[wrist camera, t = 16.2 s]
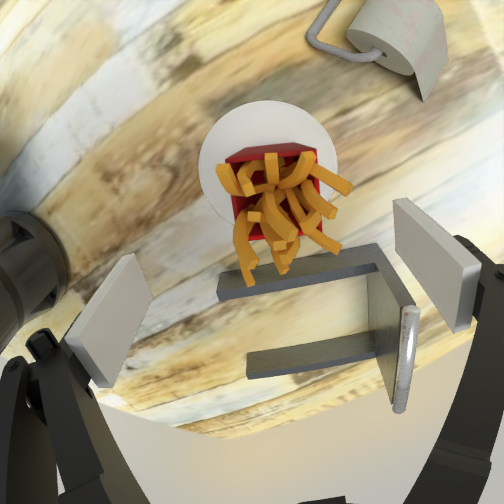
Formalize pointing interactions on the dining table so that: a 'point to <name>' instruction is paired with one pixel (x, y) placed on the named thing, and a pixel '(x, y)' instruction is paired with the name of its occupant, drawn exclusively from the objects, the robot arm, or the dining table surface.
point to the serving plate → (259, 144)
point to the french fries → (278, 201)
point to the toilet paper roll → (393, 38)
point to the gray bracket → (348, 347)
